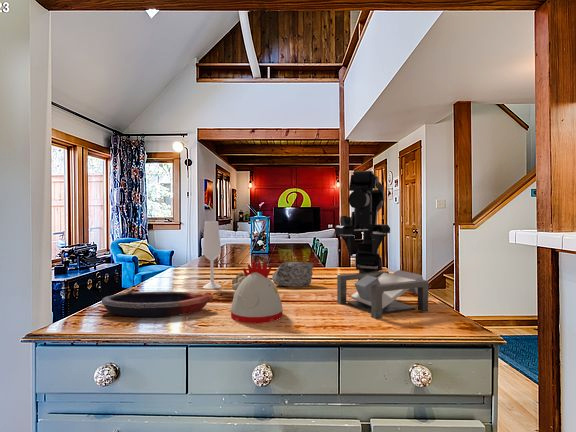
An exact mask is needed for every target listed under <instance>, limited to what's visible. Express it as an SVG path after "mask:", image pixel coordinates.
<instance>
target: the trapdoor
mask: <svg viewBox="0 0 576 432" xmlns="http://www.w3.org/2000/svg"><path fill="white" fill-rule="evenodd" d="M377 278H378V280H379V283H380V284H388V283H398V282H407V281H416V280H424V278H423V275H422V274H418V273H414V272H410V271H405V270H400V269H398V270H396V271H395V272H394V273H392V274H391V273H389V274H388V273H383V274H381V275H380V276H379V277H377ZM406 292H409V293H414V294H415V295H418V288H410V289H401V290H393V291H384V293H383V294H382V309H383V308H384V307H386V306H387V305H388V304H390V303H391V302H392V301H394V300H395V301H396V299H398V298H399V297H400V296H402V295H403V294H405V293H406ZM350 298H351V299H352V300H354V301H359V302H362V303H365V304H367V305H370V306H371V302H369V301H366V300H364V299H361V298H360V296H359V294H358V291H357V290H356V292H354V293H352V294H351V295H350Z"/></svg>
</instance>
